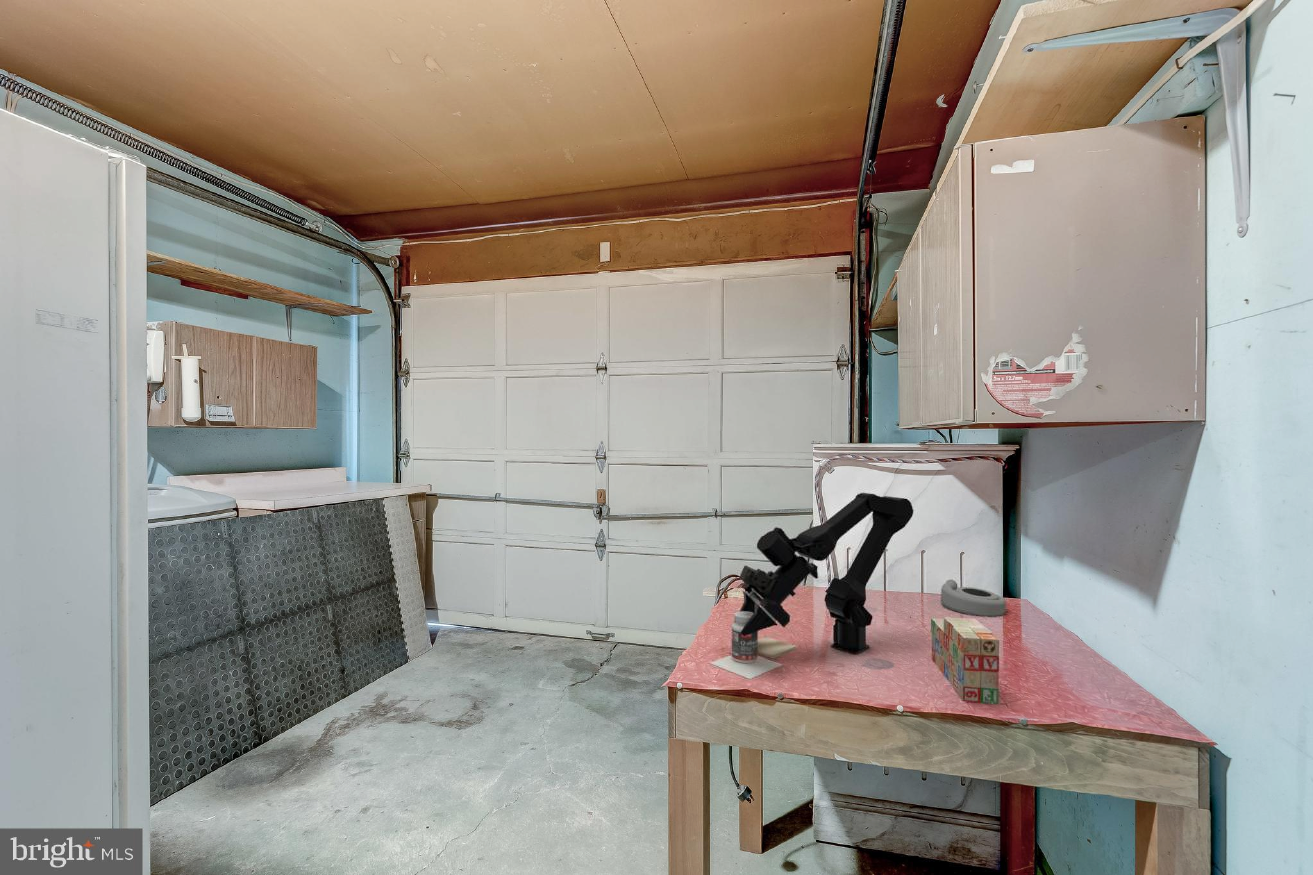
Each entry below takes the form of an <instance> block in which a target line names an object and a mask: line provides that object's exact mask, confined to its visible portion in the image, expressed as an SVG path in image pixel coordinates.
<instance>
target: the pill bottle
mask: <svg viewBox="0 0 1313 875" xmlns="http://www.w3.org/2000/svg"><path fill="white" fill-rule="evenodd" d="M739 611H740V610H739ZM739 611H737V612H734V614H733V617H734V618H733V620H734V621H735V623H734V622H733V623H732V625H731V655H732V658H733V659H734V660H735V661H737V662H741V663H752V662H754V661H756V660H757V657H758V656H759V654H758V639H759V638H758V636H759V635H758V633H759V631H756V632H754V633H751V634H749V635H746V636H743V635H742V634H741V631H742V629H743V628H744V626H745V625H746V623H747V622H748V621H749V619H750V618H751V617H752V615H753V614H754V613H752V612H747V611H740V612H739Z"/></svg>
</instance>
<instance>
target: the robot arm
mask: <svg viewBox="0 0 1313 875" xmlns="http://www.w3.org/2000/svg"><path fill="white" fill-rule="evenodd" d="M870 514H872V526H871V528H870V530H869V531H868V533H867V535H866V537H865V539H864V541H863V542H862V545H861V547H860V548H859V550H858V552H857V554H856V556H855V558H854V560H853V561H852V562H851V565H850V566H849V569H848V570H847V572H846V574H845V575H844V576H843V577H841V578H837V577H833V578H832V579H831V581H830V584H829V586H828V588H827V589H826V590H825V591H824V592H825V595H824V596H825V597H824V603H825V607H826V609H827V610H828V614H829V615H830V618H833V619H834V624H833V626H832V632H833V634H832V637H833V638H832V639H833V640H832V641H833V643H831V645H830V647H831V648H834V649H837V650H841V651H844V652H847V653H850V654H855V655H857V654H859V653H862V652H863V651H865V650H867V649H870V645H869V644H867V639H866V638H867V627H868V626H871V625H872V621H873V617H874V616H873V615H872V614H871V612H870V611H869V610H867V608H865V604H866V601H867V594H866V591H867V590H866V586H867V585H868V583H869V581H870V578H872V575H873V573H874V572H875V569H876V567H877V566H878V564H879V562H880V560H881V558H882V556H883V554H884V553H885V551H886V549H887V547H888V545H889V543H890V541H891V539H892V538H893V535H895V534H896V533H898V532H900V531H901V530H903V529H904V528H905V527H906V526H907V525H908V523H909V522H910V520H911V519H912V517H913V515H914V508H913V505H912V502H911V501H910V500H909V499H907V498H904V497H897V496H896V497H895V496H888V495H884V496H880V495H877V494H876V493H870V492H869V493H868V492H860V493H857V495H855V497H854V499H853V500H851V501H850V502H849V503H847V504H846V505H845V506H843V507H842V508H841V509H840V510H839V511H838V512H836V513H834V514H833V515H832V516H831V517H830V518H828V519H827V520H826V521H824V523H822V524H819V525H815V526H812V527H810V528H807V529H806V530H804V531H801V532H800V533H799V534H797V536H796V537H793V538H789V536H788V535H787V534H786V532H785V531H784V529H783V528H781V527H778V526H776V527H774V528H773V529H772V530H771V531H768V532H766V533H765V534H764V535H762V536H760V538H759V539H758V541H757V542H756V548H757V550H758V551H759V552H760V553H761V554H762V555H763V556H764V558H766V559H767V560H768V561H769V563H771V564H772V566H774V567H778V568H776V569H775V571H772V570H770V571H768V572H766V571H765V570H762V569H760V568H757V569H754V568H752V567H750V566H748V565H744V566H743V568H742V570H741V572H740V575H739V577H738V578H739V580H741V582H743V583H742V585H741V588H742V589H743V591H742V594H743V603H742V606H741V608H740V610H739V611H738V612H740V611H747V612H752V613H754V614H753V615H752V617H751V618H750V619H749V621H748V622H747V623H746V625H745V626H744V628H743V629H742V631H741V634H742V635H743V636H746V635H749V634H751V633H754V632H756V631H758V632H759V631H762V630H764V629H767V628H771V627H774V626H778V624H779V625H780V626H782V627H783V628H785V627H787V625H788V624H789V623H790V622H791V615H790V613H789V612H787V610H785V609H784V606H782V604H783V603H784V602H785V601H786V599H788V597H789V596H791V597H794V596H796V592H795V590H796V589H797V588H798V586H799V585H800V584H802V582H804V580H805V579H806V578H807V577H808V576H809V575H810V576H811V577H812V578H814V579H816V580H817V579H818V578H819V574H818V568H819V567H818V565H816V564H815V563H813V562H812V563H810V561H808V560H807V559H810V560H814V561H818V562H824V561H825V560H826V559H828V557H829V556H830V555H831V554H832V552H834V551H835V549H836V548H837V545H838V544H837V543H838V541H839V540H840V539H841V538H842V537H843V536H844V535H845V534H847V533H848V532H849V531H850V530H852V529H853V528H854V527H855V526H856V525H858V524H859V523H861V521H863V520H864V519H865V518H866V517H867V516H869V515H870ZM796 553H797V554H798V555H797V554H796ZM806 558H807V559H806ZM733 623H735V620H734V621H733Z"/></svg>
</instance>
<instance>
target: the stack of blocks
mask: <svg viewBox="0 0 1313 875" xmlns="http://www.w3.org/2000/svg"><path fill="white" fill-rule="evenodd" d="M930 632H931V659H932V661H933V662H934V664H935V665H936V667H937V668H938V669H939V671H940V672H941V673H942V675H943V676H944V677H945V679H946V680H947V681H948V683H949V684H950V686H951V687H952V686H953V687H952V688H954V689H953V690H954V692H955V693H956V694H957V696H958V695H959V696H958V697H959V698H960V700H961V701H962V702H963V701H966V702H965V703H974V704H975V703H976V704H987V703H994V704H993V705H999V703H1000V702H999V700H1000V699H999V698H1000V689H999V675H1000V674H999V672H1000V639H999V638H998V637H997V636H996V635H994V634H993V632H992V631H991V630H990V629H988V628H986V626H984V625H983V624H982V623H980V622H979V621H978V620H977V619H976V618H970V617H969V618H968V617H967V618H964V617H947V616H944V617H943V618H930Z"/></svg>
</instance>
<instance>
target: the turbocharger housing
mask: <svg viewBox="0 0 1313 875" xmlns="http://www.w3.org/2000/svg"><path fill="white" fill-rule="evenodd" d="M940 591H941V592H940V603H941V604H942V606H944V607H945V608H947V609H948V610H951V611H953V610H954V612H956V611H957V613H959V614H963V613H965V614H964V615H968V614H969V616H975V615H978V616H977V617H986V616H987V617H1000V616H1002V615H1004V614H1005V613H1006V610H1007V600H1006V599H1005V597H1003V596H1001V595H999V594H996V593H994V592H993V591H988V590H987V589H983V588H977V587H971V586H970V587H969V586H968V587H967V586H960V587H958V583H957V582H956V580H954V579H948V580H946V581H945V583H944V584H943V585H942V586H941V590H940Z"/></svg>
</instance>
